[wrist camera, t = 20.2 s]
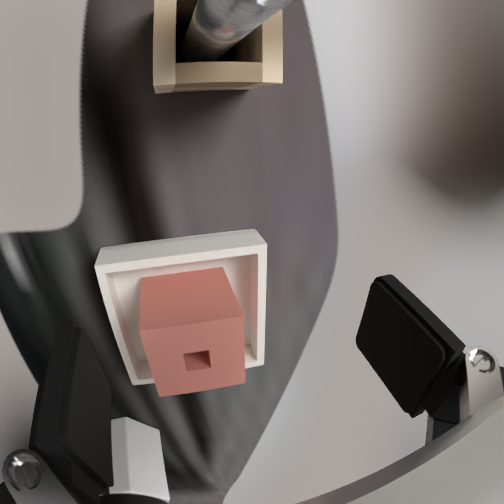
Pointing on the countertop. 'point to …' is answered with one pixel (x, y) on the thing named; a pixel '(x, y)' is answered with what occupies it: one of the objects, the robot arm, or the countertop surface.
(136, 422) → the jar
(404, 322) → the robot arm
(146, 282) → the red block small bore
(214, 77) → the beech block wide bore
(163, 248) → the tray
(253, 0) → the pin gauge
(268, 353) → the countertop surface
